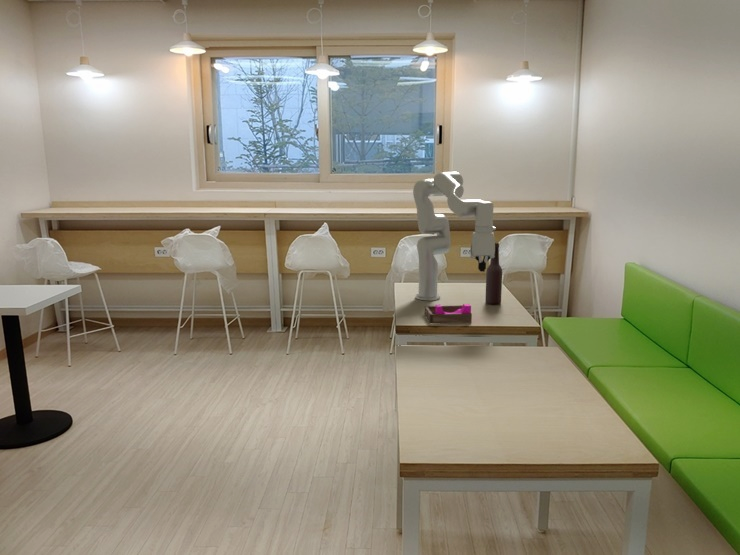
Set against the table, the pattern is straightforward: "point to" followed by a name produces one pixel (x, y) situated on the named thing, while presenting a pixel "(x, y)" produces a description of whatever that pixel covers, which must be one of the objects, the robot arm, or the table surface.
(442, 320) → the walnut bay
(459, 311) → the magenta curved block
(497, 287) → the beer bottle
